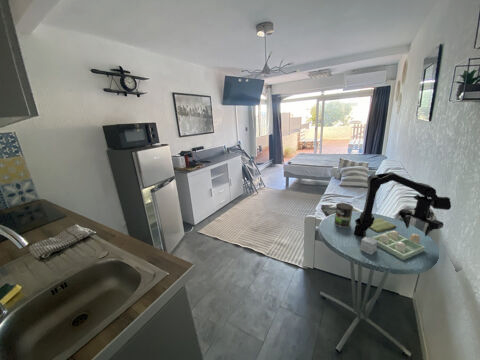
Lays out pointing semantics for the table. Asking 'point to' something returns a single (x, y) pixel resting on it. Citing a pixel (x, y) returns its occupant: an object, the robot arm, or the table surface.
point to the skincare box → (368, 245)
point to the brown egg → (415, 238)
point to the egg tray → (411, 246)
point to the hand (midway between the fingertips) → (416, 231)
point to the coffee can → (343, 215)
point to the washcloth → (381, 225)
